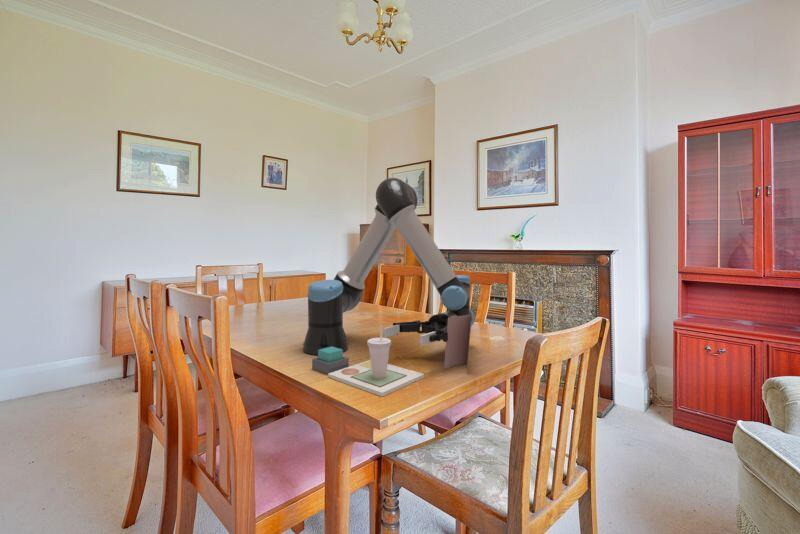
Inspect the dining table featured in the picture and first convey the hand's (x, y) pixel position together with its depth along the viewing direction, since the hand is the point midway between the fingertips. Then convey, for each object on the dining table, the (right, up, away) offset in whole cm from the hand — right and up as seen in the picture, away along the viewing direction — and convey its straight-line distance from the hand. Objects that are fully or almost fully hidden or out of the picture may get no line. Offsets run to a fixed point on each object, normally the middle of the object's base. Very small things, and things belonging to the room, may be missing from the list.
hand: (401, 336), depth 107 cm
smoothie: (-6, -9, -7) cm, 13 cm away
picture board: (-7, -10, -5) cm, 13 cm away
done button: (-21, -7, +2) cm, 22 cm away
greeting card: (+18, -10, +4) cm, 21 cm away
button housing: (-21, -10, +2) cm, 23 cm away
